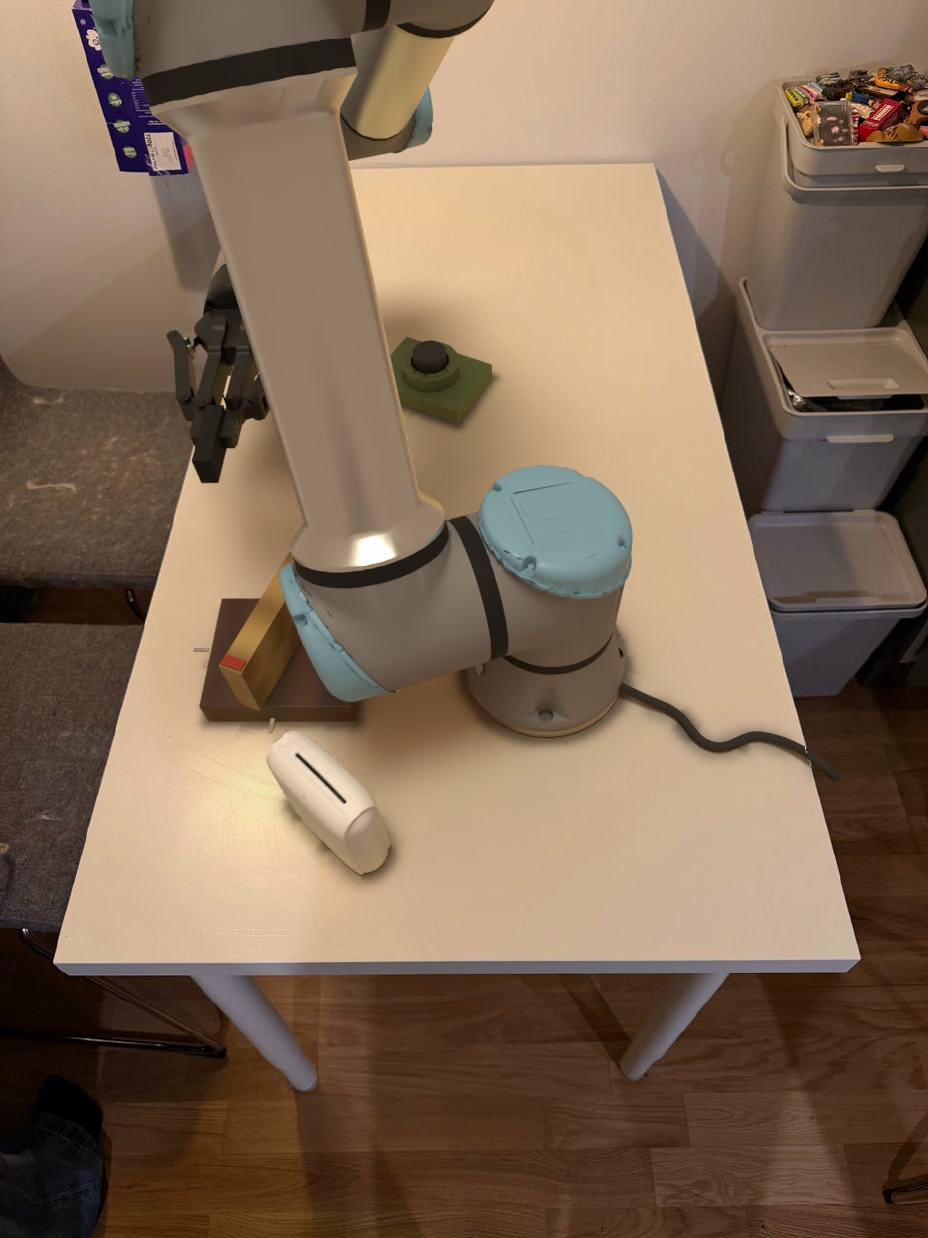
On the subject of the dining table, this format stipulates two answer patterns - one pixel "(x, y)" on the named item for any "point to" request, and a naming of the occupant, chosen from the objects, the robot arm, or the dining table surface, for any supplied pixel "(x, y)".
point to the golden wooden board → (262, 647)
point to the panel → (292, 694)
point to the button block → (439, 383)
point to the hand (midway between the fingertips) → (205, 471)
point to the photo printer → (330, 801)
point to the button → (429, 357)
